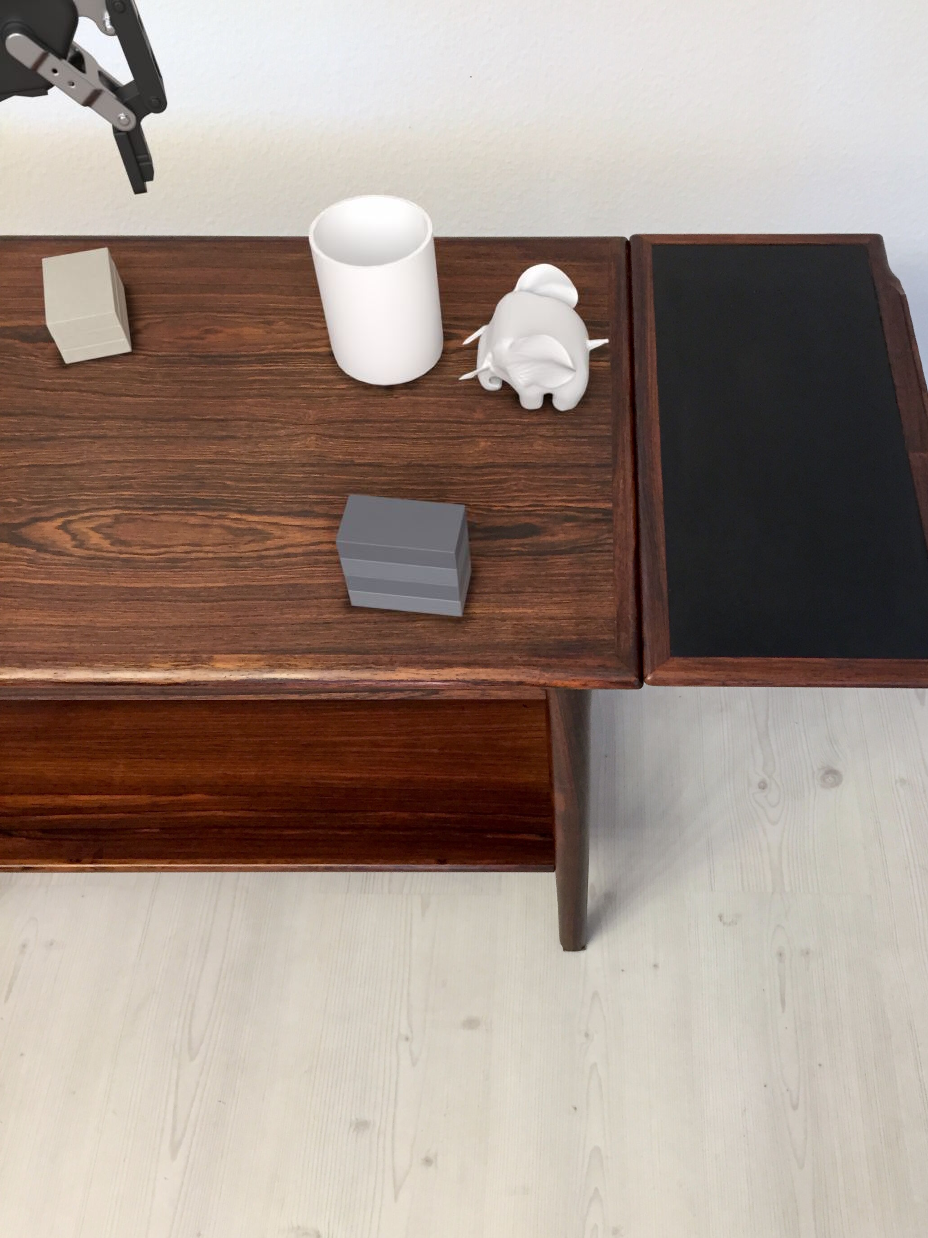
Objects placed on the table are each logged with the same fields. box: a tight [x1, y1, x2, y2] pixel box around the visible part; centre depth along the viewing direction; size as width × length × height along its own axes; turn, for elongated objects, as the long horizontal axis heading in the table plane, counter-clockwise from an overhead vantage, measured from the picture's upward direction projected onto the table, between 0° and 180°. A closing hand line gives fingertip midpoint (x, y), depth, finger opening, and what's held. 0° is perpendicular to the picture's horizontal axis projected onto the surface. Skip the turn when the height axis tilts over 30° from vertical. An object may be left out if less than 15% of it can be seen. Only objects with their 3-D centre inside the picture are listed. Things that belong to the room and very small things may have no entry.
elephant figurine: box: [458, 263, 610, 412], centre depth 85 cm, size 10×12×9 cm
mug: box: [308, 193, 444, 386], centre depth 86 cm, size 10×12×12 cm
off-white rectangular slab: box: [41, 246, 120, 339], centre depth 89 cm, size 9×6×1 cm, turn 17°
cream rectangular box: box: [53, 260, 133, 365], centre depth 91 cm, size 9×6×3 cm, turn 17°
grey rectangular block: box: [334, 493, 472, 617], centre depth 73 cm, size 8×4×7 cm, turn 83°
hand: (61, 199), depth 59 cm, fingers open, 8 cm apart
